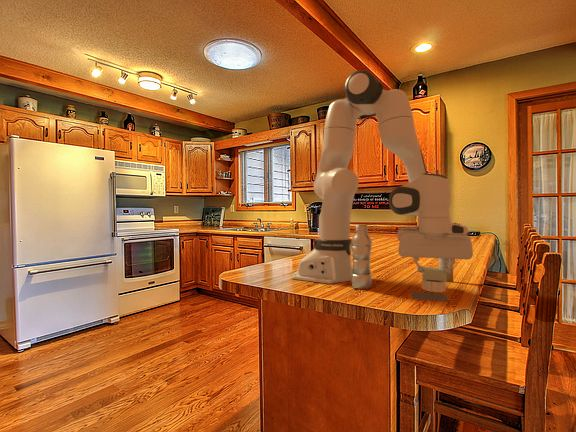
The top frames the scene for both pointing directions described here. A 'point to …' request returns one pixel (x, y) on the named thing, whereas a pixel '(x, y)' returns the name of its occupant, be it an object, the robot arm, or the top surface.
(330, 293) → the top surface
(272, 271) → the top surface
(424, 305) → the top surface
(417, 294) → the mat
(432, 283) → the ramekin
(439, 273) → the cover
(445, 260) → the sprinkles bottle
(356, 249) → the plastic bottle
